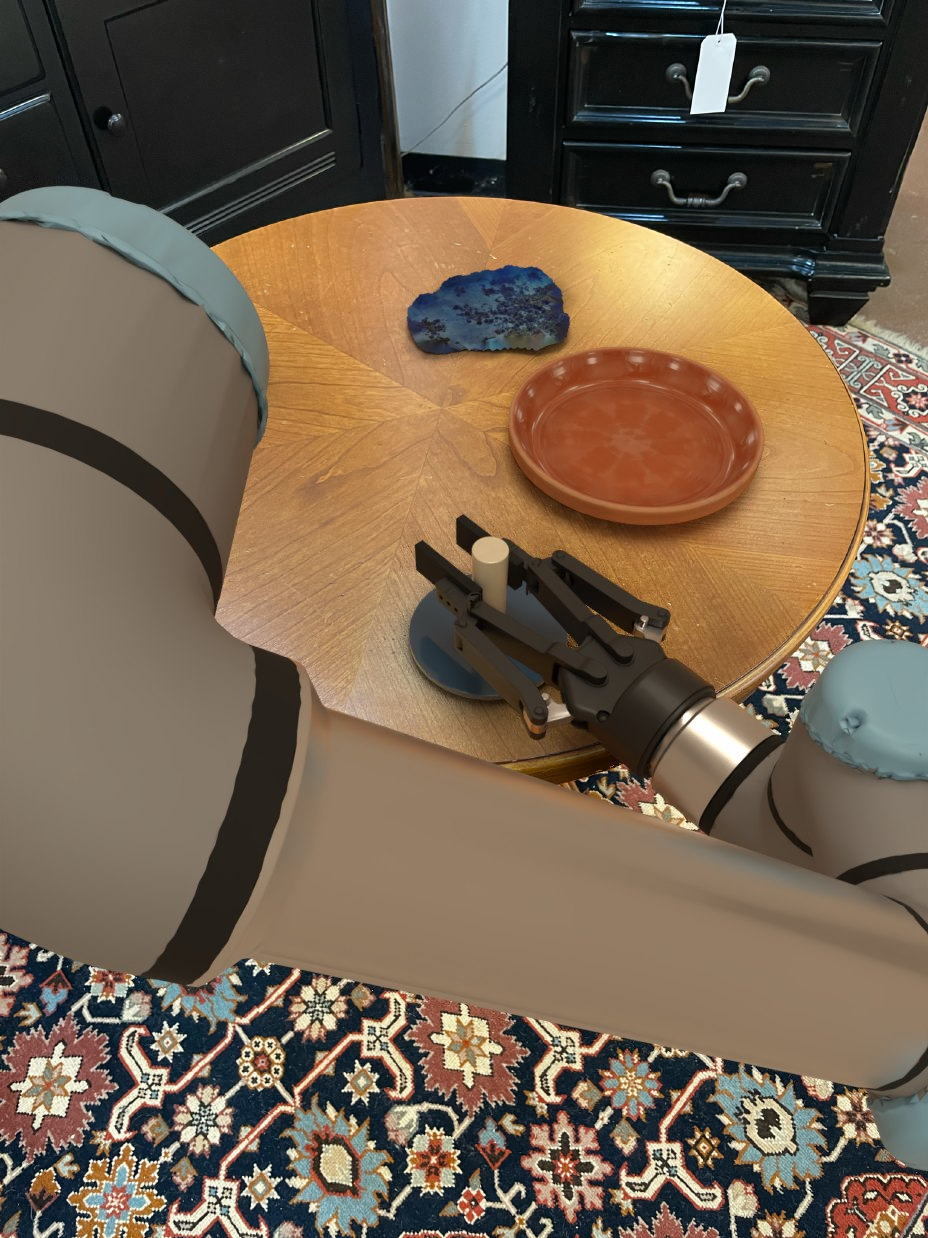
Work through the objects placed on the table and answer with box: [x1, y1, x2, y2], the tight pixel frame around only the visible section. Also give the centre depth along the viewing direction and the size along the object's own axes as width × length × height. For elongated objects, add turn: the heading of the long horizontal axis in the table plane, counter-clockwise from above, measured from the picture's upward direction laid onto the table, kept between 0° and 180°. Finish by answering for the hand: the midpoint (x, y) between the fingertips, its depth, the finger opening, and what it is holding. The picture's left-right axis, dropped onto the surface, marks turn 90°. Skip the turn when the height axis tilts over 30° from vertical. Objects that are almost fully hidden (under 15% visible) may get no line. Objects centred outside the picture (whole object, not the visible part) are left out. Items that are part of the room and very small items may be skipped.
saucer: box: [507, 346, 766, 526], centre depth 87 cm, size 23×23×4 cm
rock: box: [406, 264, 571, 355], centre depth 102 cm, size 15×17×2 cm
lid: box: [408, 536, 569, 701], centre depth 70 cm, size 12×12×10 cm
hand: (440, 542), depth 72 cm, fingers open, 3 cm apart
